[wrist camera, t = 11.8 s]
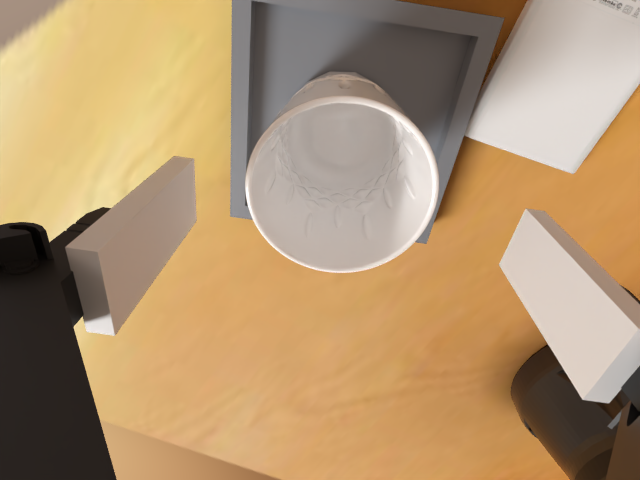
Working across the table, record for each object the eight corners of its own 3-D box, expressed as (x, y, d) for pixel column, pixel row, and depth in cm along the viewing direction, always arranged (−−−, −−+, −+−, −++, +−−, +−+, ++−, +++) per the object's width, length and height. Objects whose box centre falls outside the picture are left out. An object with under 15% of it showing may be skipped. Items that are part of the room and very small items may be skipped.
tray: (491, 16, 21) (504, 17, 19) (421, 229, 28) (426, 243, 27) (240, -25, 20) (232, -27, 19) (237, 203, 28) (230, 216, 26)
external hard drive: (456, 128, 25) (580, -112, 18) (563, 166, 26) (717, -50, 19) (462, 136, 24) (600, -122, 17) (576, 175, 25) (746, -53, 18)
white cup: (333, 27, 21) (329, 45, 12) (429, 120, 23) (481, 187, 15) (253, 134, 24) (209, 205, 16) (345, 205, 27) (348, 300, 18)
